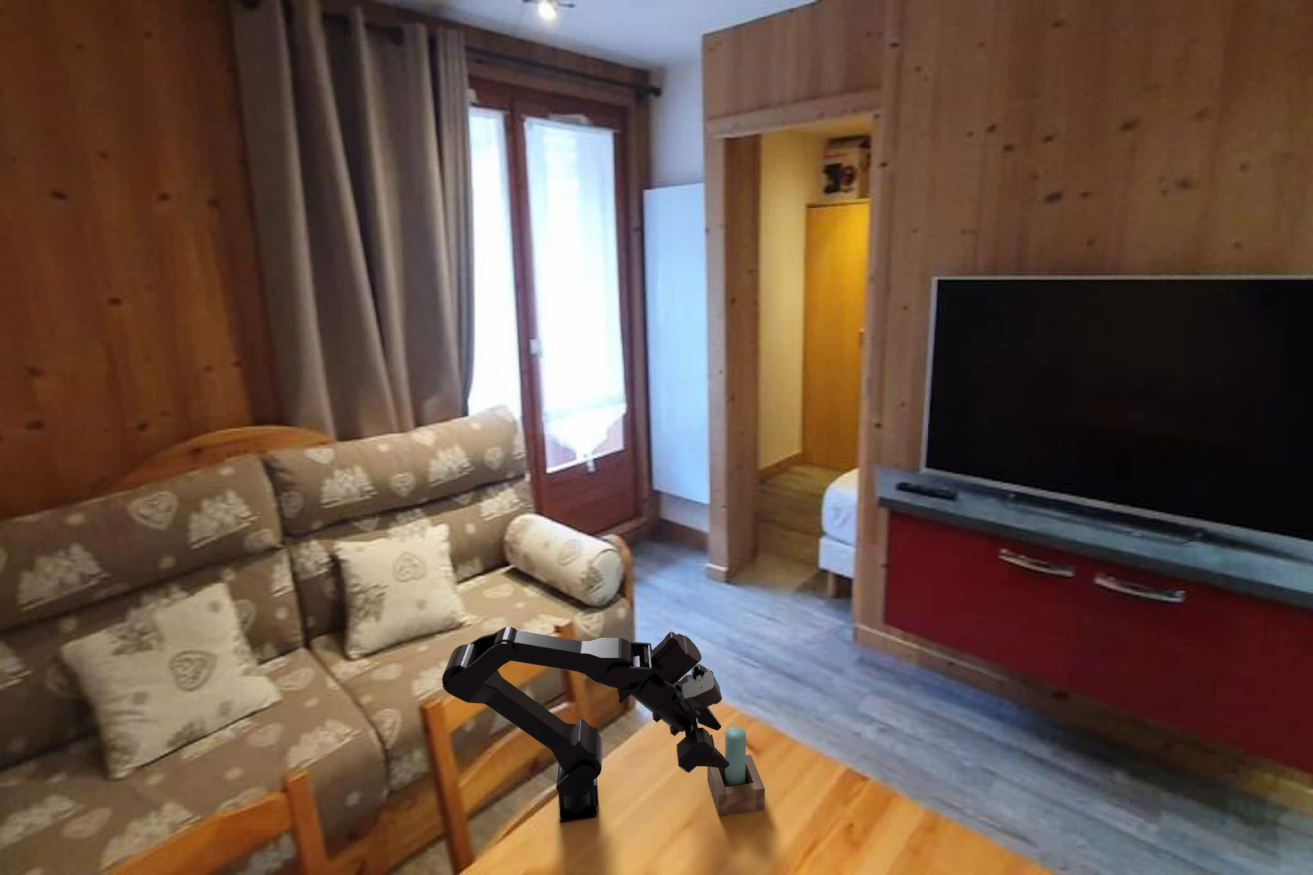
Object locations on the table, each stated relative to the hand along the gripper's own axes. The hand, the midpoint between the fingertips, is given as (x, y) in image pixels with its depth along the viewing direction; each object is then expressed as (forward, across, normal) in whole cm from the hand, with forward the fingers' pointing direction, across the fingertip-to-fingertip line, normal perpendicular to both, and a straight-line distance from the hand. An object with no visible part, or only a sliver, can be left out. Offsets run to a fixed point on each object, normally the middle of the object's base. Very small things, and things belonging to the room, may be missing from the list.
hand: (723, 746), depth 118 cm
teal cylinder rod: (+9, 0, +6) cm, 11 cm away
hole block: (+9, 0, +6) cm, 11 cm away
